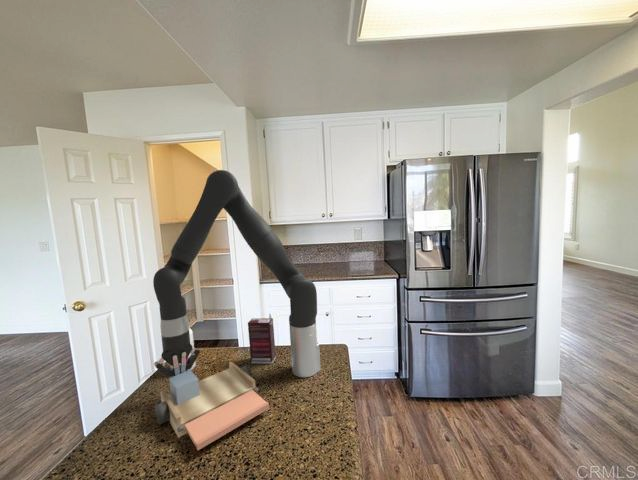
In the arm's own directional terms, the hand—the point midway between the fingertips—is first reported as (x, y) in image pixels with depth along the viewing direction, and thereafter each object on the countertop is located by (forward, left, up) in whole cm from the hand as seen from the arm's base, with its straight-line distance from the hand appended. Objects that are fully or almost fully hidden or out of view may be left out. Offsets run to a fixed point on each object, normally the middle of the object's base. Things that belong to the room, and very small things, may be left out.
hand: (180, 384), depth 84 cm
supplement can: (+1, -18, -4) cm, 19 cm away
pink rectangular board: (-11, +15, -1) cm, 18 cm away
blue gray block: (-1, +4, -1) cm, 5 cm away
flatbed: (-8, +7, -4) cm, 12 cm away
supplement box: (-27, -10, -4) cm, 29 cm away
